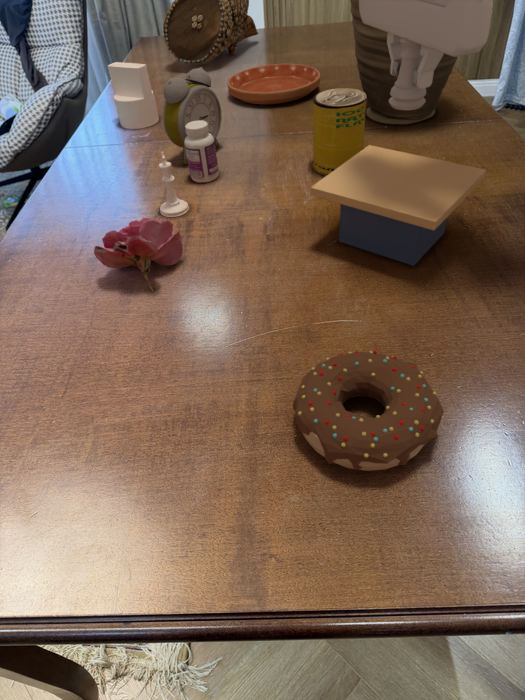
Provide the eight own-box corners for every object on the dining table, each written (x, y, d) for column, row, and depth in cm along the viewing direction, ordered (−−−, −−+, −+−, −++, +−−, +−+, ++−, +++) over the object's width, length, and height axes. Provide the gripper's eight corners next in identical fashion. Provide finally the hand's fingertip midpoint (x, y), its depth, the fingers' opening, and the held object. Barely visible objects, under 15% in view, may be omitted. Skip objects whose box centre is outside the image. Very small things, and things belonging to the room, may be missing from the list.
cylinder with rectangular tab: (112, 126, 117) (97, 70, 109) (136, 113, 123) (123, 58, 114) (143, 131, 114) (129, 72, 105) (166, 116, 119) (155, 60, 111)
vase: (480, 126, 104) (508, -53, 80) (363, 147, 106) (358, -20, 83) (448, 74, 119) (465, -89, 96) (347, 94, 122) (339, -60, 99)
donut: (362, 509, 44) (366, 479, 41) (269, 414, 52) (266, 382, 49) (468, 427, 50) (479, 393, 46) (368, 352, 58) (372, 319, 54)
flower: (123, 277, 78) (133, 212, 76) (179, 291, 76) (191, 225, 74) (75, 277, 68) (86, 201, 66) (140, 294, 65) (152, 216, 63)
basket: (178, -6, 162) (136, -5, 134) (236, -50, 153) (204, -59, 125) (216, 68, 172) (184, 83, 144) (273, 31, 163) (251, 39, 135)
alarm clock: (188, 168, 98) (173, 84, 87) (164, 161, 101) (146, 79, 90) (227, 146, 104) (217, 65, 94) (202, 140, 107) (190, 62, 97)
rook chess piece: (409, 114, 60) (419, 37, 54) (380, 105, 63) (386, 31, 57) (433, 103, 62) (444, 28, 56) (403, 96, 64) (412, 23, 59)
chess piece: (162, 219, 84) (148, 161, 77) (158, 206, 87) (144, 149, 80) (191, 213, 85) (180, 155, 78) (186, 200, 88) (175, 143, 81)
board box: (472, 229, 75) (486, 169, 68) (424, 284, 66) (435, 221, 60) (365, 200, 84) (369, 144, 77) (310, 245, 75) (310, 187, 69)
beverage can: (370, 160, 94) (375, 91, 86) (348, 180, 89) (351, 109, 81) (328, 152, 98) (329, 85, 90) (304, 170, 93) (303, 102, 85)
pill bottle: (214, 168, 97) (206, 116, 90) (223, 179, 93) (215, 125, 86) (187, 174, 96) (177, 122, 89) (195, 186, 92) (185, 132, 85)
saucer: (215, 107, 122) (212, 90, 119) (247, 77, 137) (245, 62, 134) (306, 110, 115) (306, 93, 113) (329, 79, 130) (329, 63, 128)
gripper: (527, -66, 44) (489, 100, 54) (400, -77, 58) (388, 57, 68) (466, -57, 43) (438, 112, 53) (351, -70, 57) (346, 65, 67)
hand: (409, 81), depth 60 cm, fingers closed on rook chess piece, 3 cm apart
